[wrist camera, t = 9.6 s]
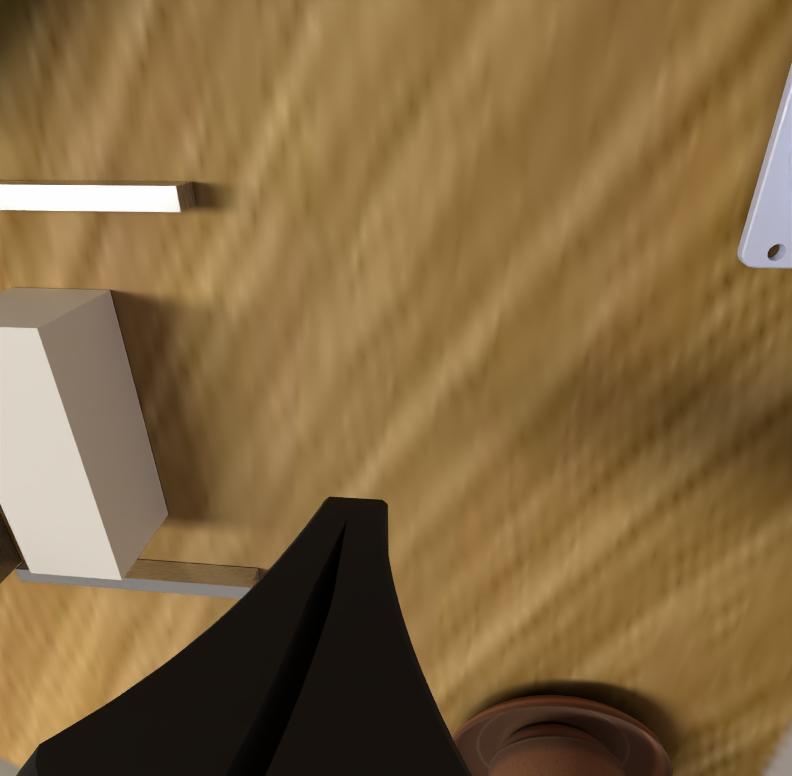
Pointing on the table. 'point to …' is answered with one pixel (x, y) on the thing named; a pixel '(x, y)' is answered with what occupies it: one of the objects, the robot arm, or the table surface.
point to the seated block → (73, 436)
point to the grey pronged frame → (133, 198)
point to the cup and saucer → (559, 740)
